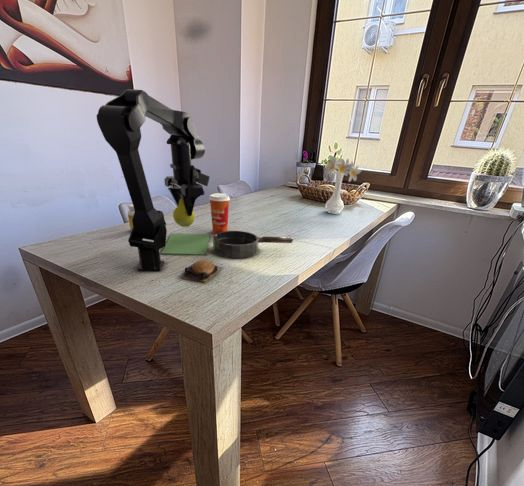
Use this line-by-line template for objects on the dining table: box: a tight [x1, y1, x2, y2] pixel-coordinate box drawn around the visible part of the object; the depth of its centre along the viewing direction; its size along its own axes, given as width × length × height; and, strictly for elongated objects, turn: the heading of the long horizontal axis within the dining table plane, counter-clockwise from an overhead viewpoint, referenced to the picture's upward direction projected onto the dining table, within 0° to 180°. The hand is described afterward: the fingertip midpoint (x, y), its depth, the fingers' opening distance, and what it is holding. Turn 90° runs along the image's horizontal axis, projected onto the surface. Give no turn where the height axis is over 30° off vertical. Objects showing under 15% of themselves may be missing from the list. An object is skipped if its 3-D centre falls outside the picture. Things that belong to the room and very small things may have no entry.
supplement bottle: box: [127, 203, 135, 233], centre depth 115 cm, size 5×5×10 cm
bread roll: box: [181, 259, 221, 283], centre depth 89 cm, size 11×8×4 cm
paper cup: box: [208, 192, 231, 235], centre depth 118 cm, size 8×8×14 cm
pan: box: [212, 230, 259, 259], centre depth 105 cm, size 15×15×4 cm
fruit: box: [172, 199, 196, 228], centre depth 102 cm, size 7×7×12 cm
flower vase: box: [324, 156, 362, 215], centre depth 152 cm, size 13×18×25 cm
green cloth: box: [160, 233, 210, 256], centre depth 109 cm, size 20×14×1 cm
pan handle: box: [256, 236, 294, 244], centre depth 105 cm, size 13×2×2 cm, turn 94°
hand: (185, 213), depth 103 cm, fingers closed on fruit, 7 cm apart
